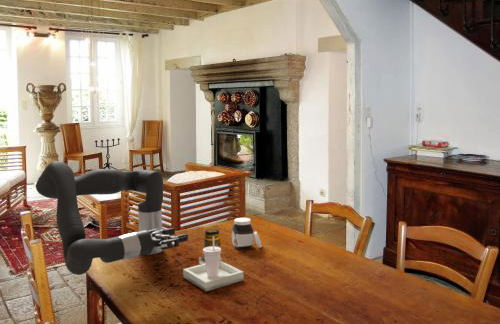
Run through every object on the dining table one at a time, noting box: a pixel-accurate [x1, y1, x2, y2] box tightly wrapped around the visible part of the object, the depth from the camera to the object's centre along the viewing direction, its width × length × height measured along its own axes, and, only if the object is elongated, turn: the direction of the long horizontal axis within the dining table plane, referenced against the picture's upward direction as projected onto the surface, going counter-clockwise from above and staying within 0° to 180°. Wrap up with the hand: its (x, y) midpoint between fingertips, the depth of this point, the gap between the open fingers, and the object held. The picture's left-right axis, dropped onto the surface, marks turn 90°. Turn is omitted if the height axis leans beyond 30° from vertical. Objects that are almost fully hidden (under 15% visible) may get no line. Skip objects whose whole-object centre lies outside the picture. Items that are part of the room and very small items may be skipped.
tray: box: [182, 259, 244, 292], centre depth 163 cm, size 15×15×3 cm
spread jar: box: [231, 217, 263, 250], centre depth 197 cm, size 12×11×12 cm
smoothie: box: [202, 237, 222, 278], centre depth 162 cm, size 6×6×14 cm
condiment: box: [198, 228, 222, 265], centre depth 181 cm, size 7×8×12 cm
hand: (180, 234), depth 155 cm, fingers open, 8 cm apart
